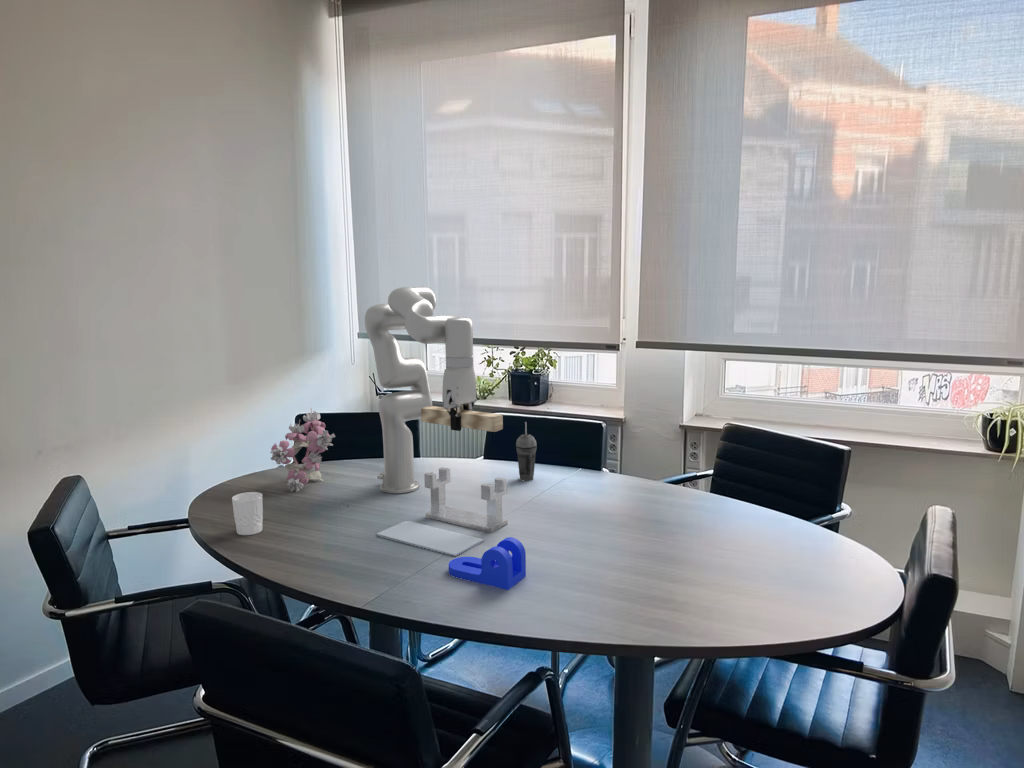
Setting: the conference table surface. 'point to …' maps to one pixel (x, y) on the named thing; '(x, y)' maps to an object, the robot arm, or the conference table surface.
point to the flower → (312, 444)
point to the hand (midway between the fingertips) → (461, 427)
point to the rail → (464, 418)
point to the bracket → (493, 565)
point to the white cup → (248, 513)
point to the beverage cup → (526, 455)
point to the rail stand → (461, 516)
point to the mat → (430, 538)
